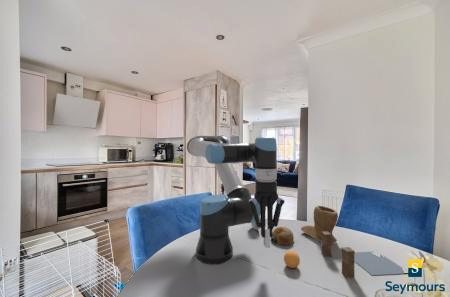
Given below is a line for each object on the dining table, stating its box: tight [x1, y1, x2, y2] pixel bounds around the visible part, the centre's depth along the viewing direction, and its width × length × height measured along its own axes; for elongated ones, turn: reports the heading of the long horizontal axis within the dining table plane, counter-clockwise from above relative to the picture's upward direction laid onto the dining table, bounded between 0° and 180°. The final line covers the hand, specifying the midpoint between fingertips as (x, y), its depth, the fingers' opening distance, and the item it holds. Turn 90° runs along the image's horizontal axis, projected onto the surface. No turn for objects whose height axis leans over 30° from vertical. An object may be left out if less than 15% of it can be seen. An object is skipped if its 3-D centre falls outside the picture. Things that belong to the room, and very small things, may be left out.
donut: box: [250, 217, 261, 231], centre depth 105 cm, size 10×4×10 cm, turn 9°
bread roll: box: [270, 226, 295, 246], centre depth 93 cm, size 10×10×8 cm
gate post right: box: [341, 246, 356, 279], centre depth 68 cm, size 3×3×9 cm
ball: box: [283, 250, 301, 269], centre depth 73 cm, size 6×6×6 cm
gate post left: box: [321, 231, 333, 258], centre depth 80 cm, size 3×3×9 cm
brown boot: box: [300, 205, 339, 244], centre depth 95 cm, size 15×12×15 cm
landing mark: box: [354, 251, 405, 277], centre depth 75 cm, size 14×14×1 cm
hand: (266, 245), depth 72 cm, fingers closed
